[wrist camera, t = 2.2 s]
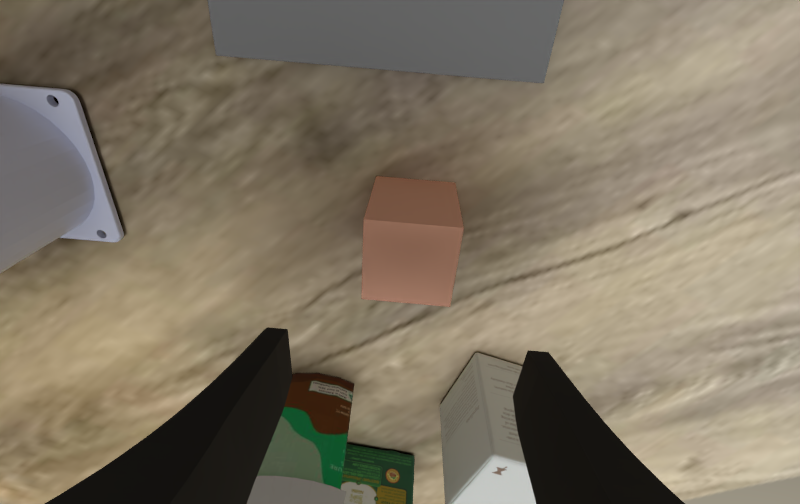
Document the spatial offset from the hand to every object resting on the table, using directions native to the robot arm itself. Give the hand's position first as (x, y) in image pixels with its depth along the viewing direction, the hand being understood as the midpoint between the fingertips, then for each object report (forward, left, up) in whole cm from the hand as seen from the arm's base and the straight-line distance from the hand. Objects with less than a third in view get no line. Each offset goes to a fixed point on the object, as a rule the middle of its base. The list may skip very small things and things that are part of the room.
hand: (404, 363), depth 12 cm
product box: (+7, -13, -11) cm, 18 cm away
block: (0, 0, -10) cm, 10 cm away
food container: (-8, -16, -11) cm, 21 cm away
